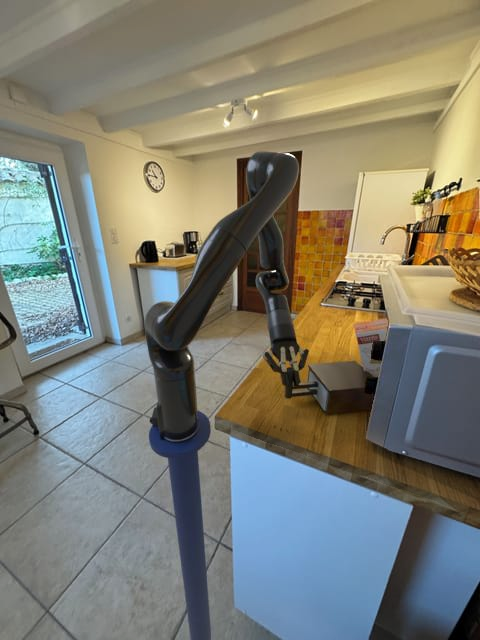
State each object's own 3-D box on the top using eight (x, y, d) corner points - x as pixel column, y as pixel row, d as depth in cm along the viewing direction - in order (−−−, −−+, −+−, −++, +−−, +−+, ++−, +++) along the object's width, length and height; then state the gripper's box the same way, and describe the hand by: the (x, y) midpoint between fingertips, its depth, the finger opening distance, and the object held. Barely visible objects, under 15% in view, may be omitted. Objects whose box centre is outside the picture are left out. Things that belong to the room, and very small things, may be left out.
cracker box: (368, 391, 76) (355, 333, 69) (365, 378, 81) (352, 322, 74) (423, 387, 71) (415, 323, 63) (416, 373, 76) (408, 312, 68)
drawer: (291, 414, 67) (294, 380, 63) (278, 389, 77) (280, 359, 74) (371, 406, 70) (378, 373, 67) (349, 383, 81) (354, 353, 77)
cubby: (326, 414, 67) (329, 390, 65) (305, 385, 80) (308, 364, 77) (379, 409, 69) (384, 385, 67) (351, 381, 82) (355, 360, 80)
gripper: (260, 323, 71) (270, 386, 64) (307, 321, 73) (321, 381, 66) (256, 333, 78) (264, 391, 71) (299, 331, 80) (311, 386, 72)
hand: (292, 386), depth 68 cm, fingers closed on drawer, 2 cm apart
